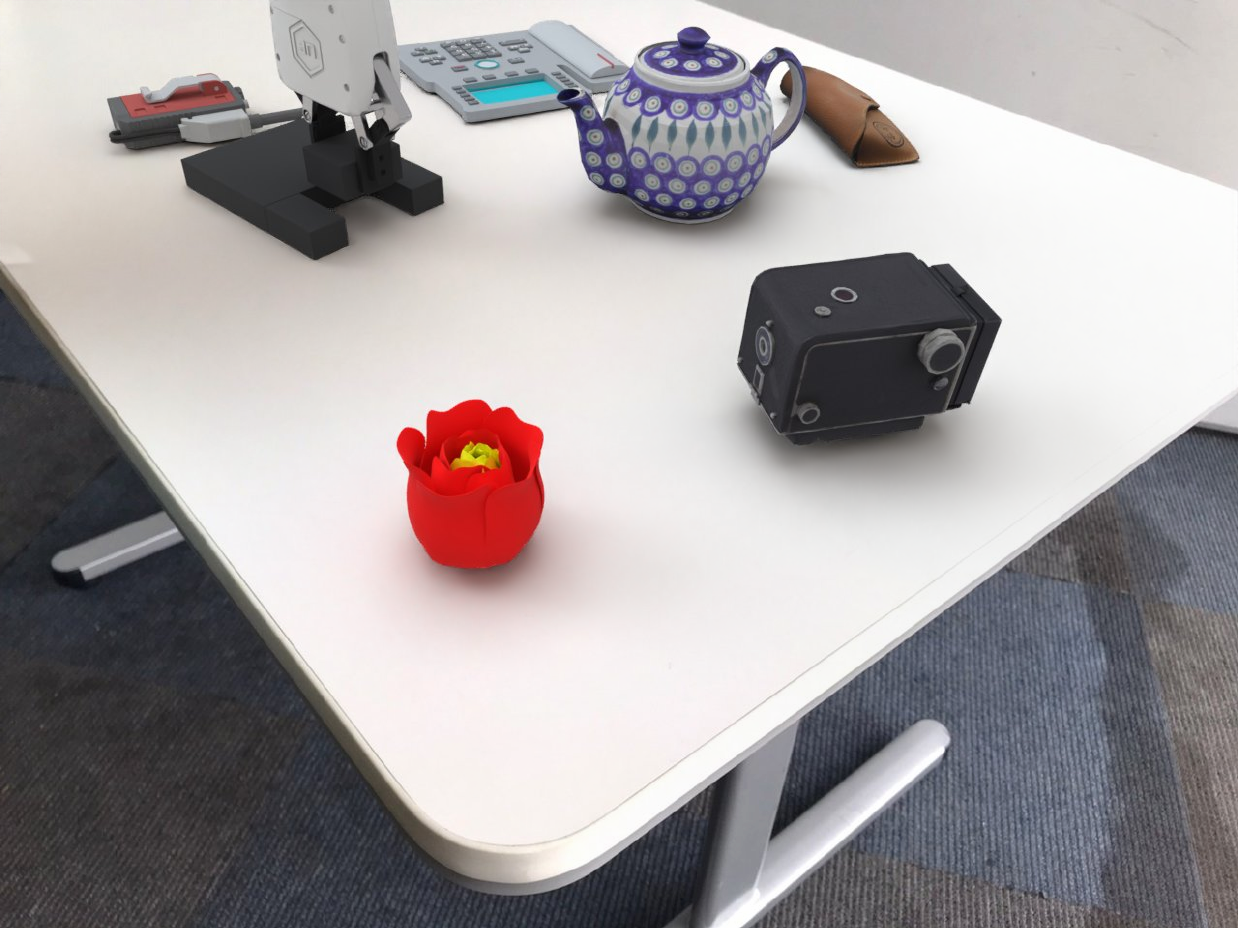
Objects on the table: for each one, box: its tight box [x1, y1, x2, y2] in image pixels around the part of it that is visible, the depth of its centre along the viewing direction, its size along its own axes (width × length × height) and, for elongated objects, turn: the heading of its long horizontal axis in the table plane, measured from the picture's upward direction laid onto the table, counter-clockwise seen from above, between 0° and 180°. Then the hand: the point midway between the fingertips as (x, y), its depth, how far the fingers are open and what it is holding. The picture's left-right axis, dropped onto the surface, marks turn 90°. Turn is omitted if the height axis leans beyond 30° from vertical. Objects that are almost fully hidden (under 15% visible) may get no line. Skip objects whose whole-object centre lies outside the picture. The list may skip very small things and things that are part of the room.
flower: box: [396, 398, 546, 570], centre depth 57 cm, size 8×8×8 cm
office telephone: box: [397, 19, 631, 123], centre depth 112 cm, size 23×3×20 cm
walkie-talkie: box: [106, 72, 303, 150], centre depth 98 cm, size 9×4×20 cm
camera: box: [736, 251, 1003, 446], centre depth 66 cm, size 11×11×15 cm
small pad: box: [302, 127, 403, 202], centre depth 84 cm, size 6×5×3 cm
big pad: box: [180, 116, 445, 261], centre depth 89 cm, size 14×18×2 cm
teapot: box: [556, 26, 807, 225], centre depth 88 cm, size 25×15×15 cm, turn 116°
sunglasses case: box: [779, 64, 920, 168], centre depth 106 cm, size 18×7×7 cm
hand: (354, 175), depth 85 cm, fingers closed on small pad, 4 cm apart
